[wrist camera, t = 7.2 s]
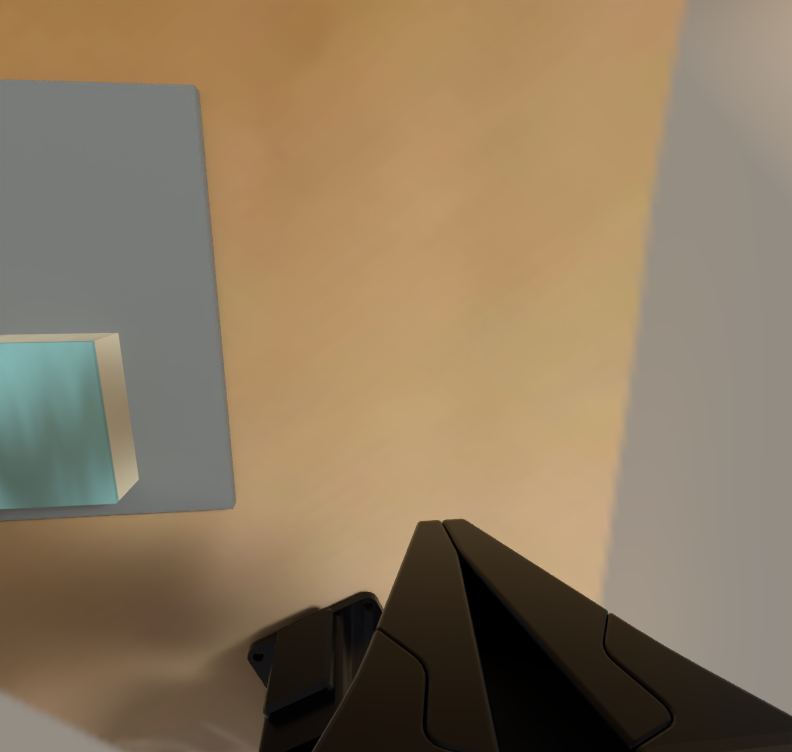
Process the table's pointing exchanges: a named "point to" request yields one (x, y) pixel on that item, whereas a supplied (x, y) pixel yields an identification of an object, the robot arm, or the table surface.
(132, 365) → the mat
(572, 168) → the table surface
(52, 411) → the tile
